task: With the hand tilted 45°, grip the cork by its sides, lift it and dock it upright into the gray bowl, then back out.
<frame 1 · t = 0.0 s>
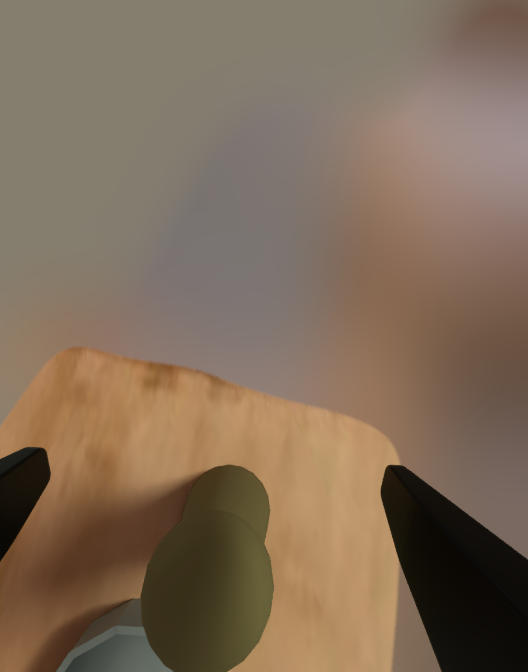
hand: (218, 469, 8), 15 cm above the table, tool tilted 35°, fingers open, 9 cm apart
cork: (227, 509, 21), on the table
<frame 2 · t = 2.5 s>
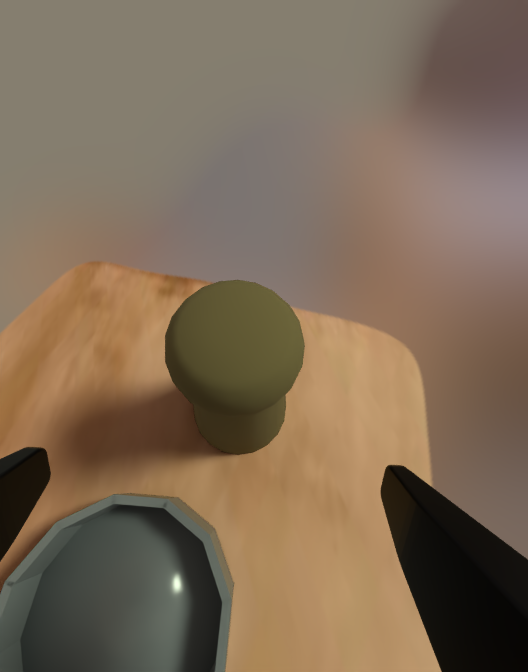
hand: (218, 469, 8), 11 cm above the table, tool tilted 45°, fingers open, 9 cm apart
gray bowl: (130, 609, 15), on the table
cork: (240, 406, 20), on the table
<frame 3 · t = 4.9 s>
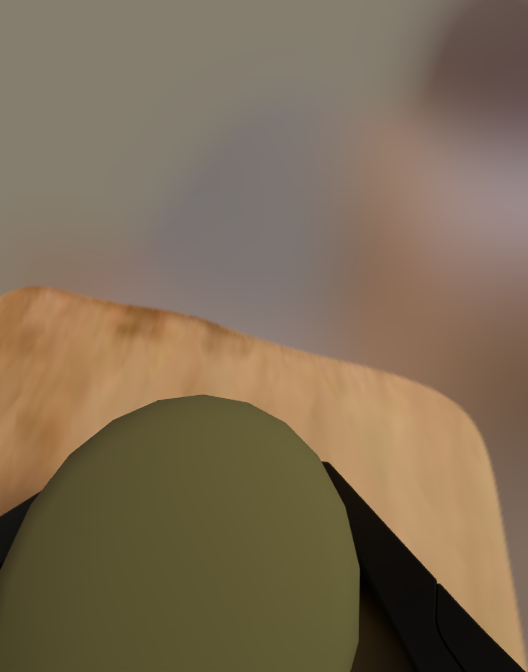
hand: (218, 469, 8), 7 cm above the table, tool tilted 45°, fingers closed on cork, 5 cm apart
cork: (227, 510, 13), on the table, touching gripper
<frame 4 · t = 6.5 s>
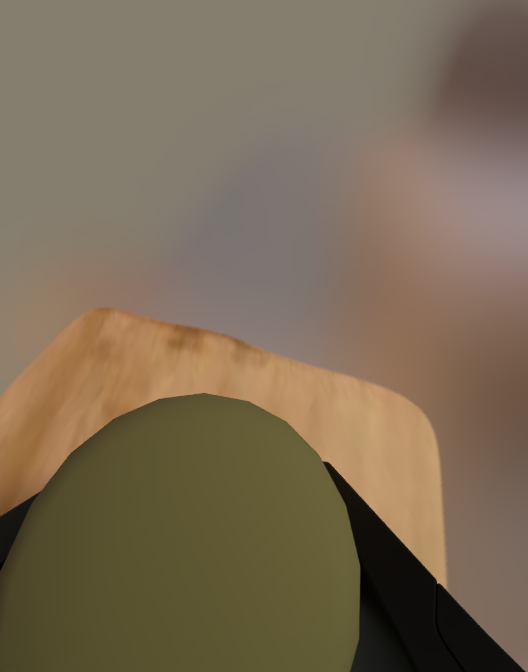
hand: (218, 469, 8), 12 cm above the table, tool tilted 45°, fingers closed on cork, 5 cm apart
cork: (228, 509, 13), point 6 cm above the table, touching gripper
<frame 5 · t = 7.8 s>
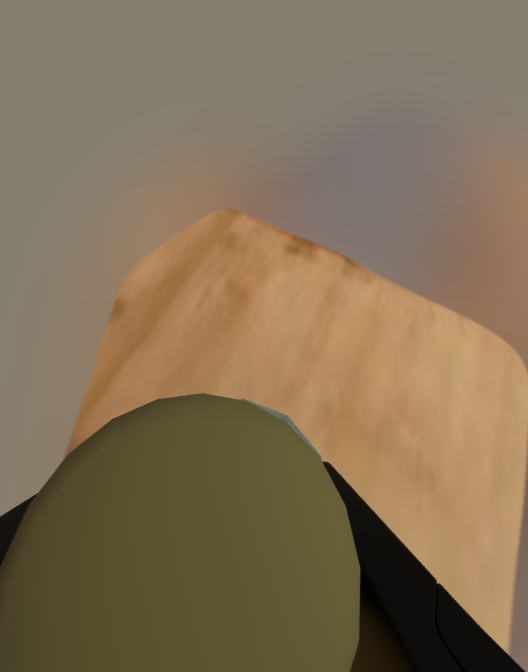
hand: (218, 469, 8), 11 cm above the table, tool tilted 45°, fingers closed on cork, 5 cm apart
gray bowl: (232, 498, 17), on the table
cork: (227, 509, 13), point 4 cm above the table, touching gripper
when the fingers open (8 cm above the table, at t = 8.6 s): cork drops 1 cm, resting on gray bowl.
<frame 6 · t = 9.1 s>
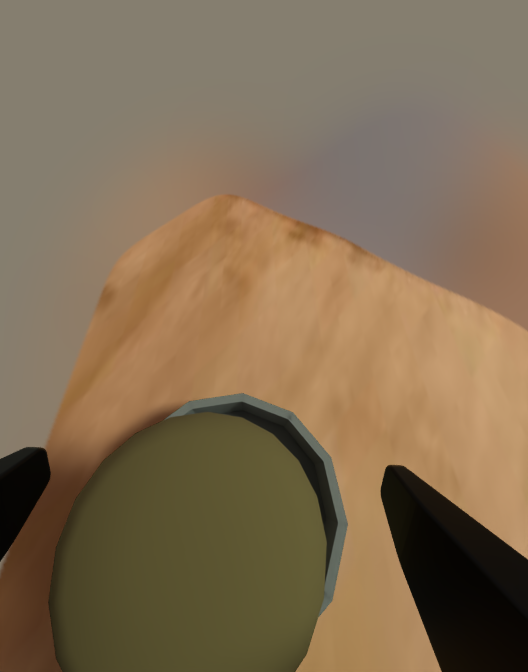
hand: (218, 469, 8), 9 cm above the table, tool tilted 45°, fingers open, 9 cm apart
gray bowl: (230, 507, 15), on the table
cork: (229, 512, 14), resting on gray bowl
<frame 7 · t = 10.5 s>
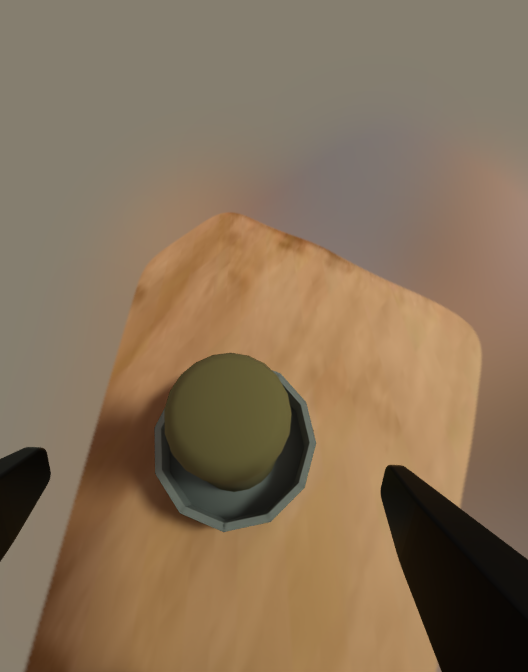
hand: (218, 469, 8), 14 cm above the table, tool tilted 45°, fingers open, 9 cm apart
gray bowl: (236, 440, 21), on the table
cork: (236, 443, 21), resting on gray bowl
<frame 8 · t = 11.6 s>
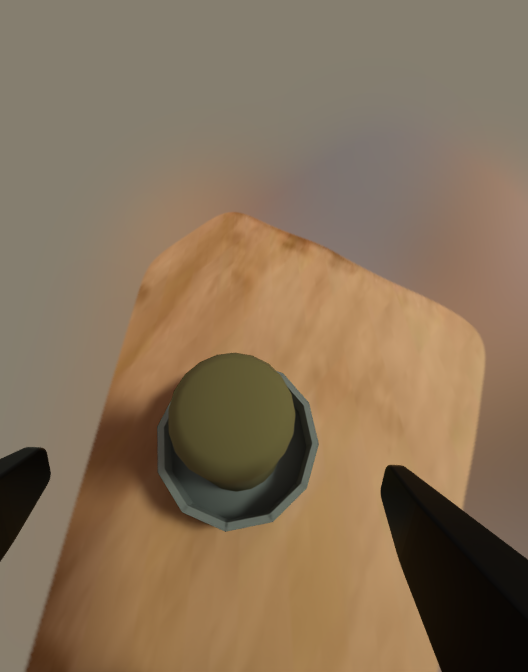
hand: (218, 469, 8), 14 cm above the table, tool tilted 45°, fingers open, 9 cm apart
gray bowl: (239, 440, 21), on the table
cork: (238, 443, 21), resting on gray bowl
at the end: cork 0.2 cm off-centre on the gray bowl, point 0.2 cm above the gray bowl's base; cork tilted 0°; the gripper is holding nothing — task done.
